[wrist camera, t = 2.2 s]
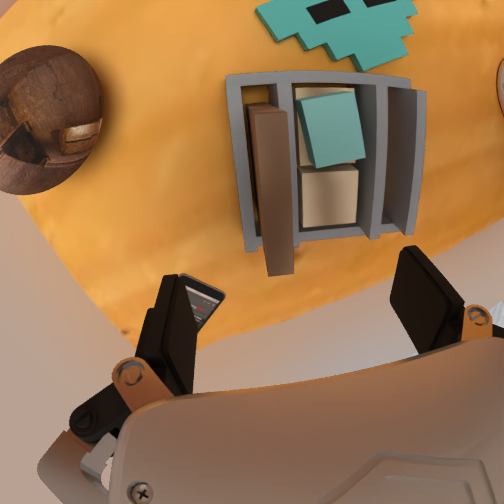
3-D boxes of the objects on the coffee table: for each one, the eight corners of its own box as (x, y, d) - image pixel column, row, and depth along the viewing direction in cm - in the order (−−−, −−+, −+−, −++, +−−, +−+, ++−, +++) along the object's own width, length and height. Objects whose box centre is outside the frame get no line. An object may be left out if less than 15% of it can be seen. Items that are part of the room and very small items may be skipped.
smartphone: (144, 334, 45) (181, 273, 39) (145, 331, 45) (181, 270, 39) (183, 350, 47) (227, 295, 41) (184, 347, 48) (227, 291, 42)
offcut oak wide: (340, 87, 27) (354, 88, 24) (342, 153, 32) (355, 162, 28) (287, 87, 27) (295, 87, 24) (292, 156, 32) (300, 165, 28)
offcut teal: (342, 90, 24) (354, 91, 22) (354, 150, 27) (365, 157, 25) (294, 99, 25) (301, 101, 22) (308, 160, 28) (316, 168, 25)
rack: (392, 77, 26) (426, 79, 20) (386, 217, 36) (411, 243, 30) (226, 77, 26) (224, 74, 20) (244, 230, 36) (246, 262, 30)
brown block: (264, 102, 28) (287, 112, 16) (272, 203, 34) (294, 273, 22) (245, 103, 28) (254, 114, 16) (256, 205, 34) (268, 276, 22)
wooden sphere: (10, 123, 25) (-69, 158, 12) (71, 28, 20) (-13, 15, 8) (77, 190, 31) (10, 254, 19) (151, 98, 27) (87, 111, 14)
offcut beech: (342, 158, 32) (358, 170, 28) (341, 204, 35) (355, 222, 31) (292, 161, 32) (301, 173, 28) (294, 208, 35) (303, 227, 31)
